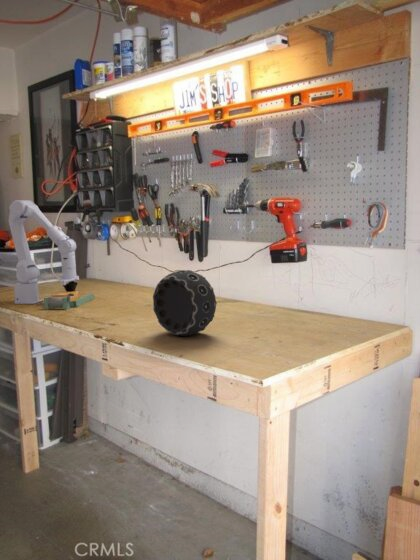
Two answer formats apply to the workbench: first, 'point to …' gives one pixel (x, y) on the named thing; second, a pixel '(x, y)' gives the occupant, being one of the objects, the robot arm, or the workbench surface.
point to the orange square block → (64, 294)
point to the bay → (66, 301)
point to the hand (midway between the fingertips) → (71, 299)
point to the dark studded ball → (184, 303)
